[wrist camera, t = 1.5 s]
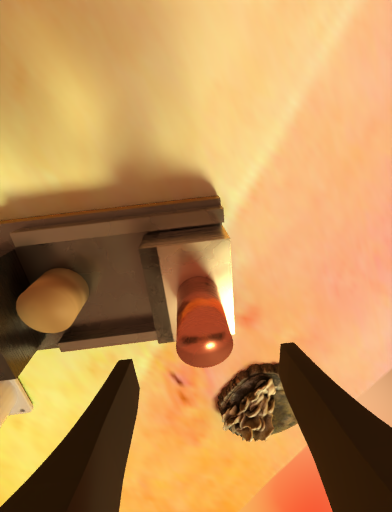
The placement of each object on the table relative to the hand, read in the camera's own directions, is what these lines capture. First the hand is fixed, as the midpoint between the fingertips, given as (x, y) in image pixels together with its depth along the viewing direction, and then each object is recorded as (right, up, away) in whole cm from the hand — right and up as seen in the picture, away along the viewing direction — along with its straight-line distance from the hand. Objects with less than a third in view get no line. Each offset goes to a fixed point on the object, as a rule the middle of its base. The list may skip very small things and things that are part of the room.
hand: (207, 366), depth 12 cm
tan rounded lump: (-12, +3, +8) cm, 15 cm away
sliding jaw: (-1, +4, +8) cm, 9 cm away
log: (+7, -12, +18) cm, 23 cm away
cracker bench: (-8, +3, +10) cm, 13 cm away
